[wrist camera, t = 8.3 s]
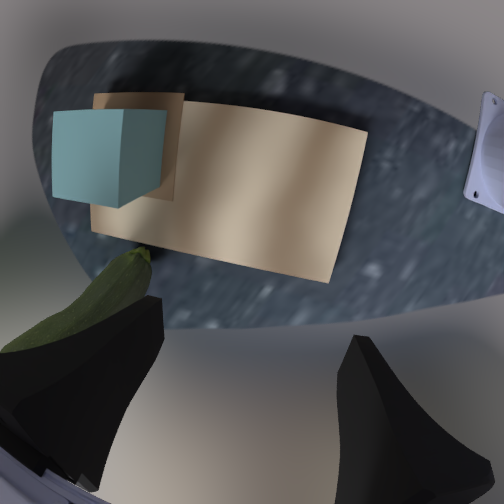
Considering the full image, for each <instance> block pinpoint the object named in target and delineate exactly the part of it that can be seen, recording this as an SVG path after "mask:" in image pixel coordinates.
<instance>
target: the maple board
mask: <svg viewBox="0 0 504 504" xmlns="http://www.w3.org/2000/svg"><path fill="white" fill-rule="evenodd" d="M184 95H185V93H167V92H121V93H99V94H94V102H93V109H148V110H167V117H166V125H165V134H164V143H163V154H162V165H161V178H160V187H159V188H157V189H155V190H153V191H151V192H149V193H147V194H145V195H143V196H141V197H139V198H137V199H135V200H133V201H132V202H130V203H128V204H126V205H124V206H122V207H121V208H119V209H117V208H112V207H106V206H101V205H96V204H90V206H91V228H92V231H93V232H97V233H101V234H106V235H110V236H114V237H118V238H123V239H127V240H131V241H136V242H140V243H144V244H149V245H153V246H158V247H162V248H166V249H171V250H175V251H180V252H184V253H189V254H193V255H198V256H202V257H207V258H211V259H216V260H221V261H225V262H230V263H234V264H239V265H244V266H248V267H253V268H258V269H262V270H267V271H272V272H276V273H281V274H286V275H291V276H296V277H300V278H305V279H310V280H315V281H320V282H325V283H329V280H330V277H331V274H332V271H333V267H334V264H335V261H336V257H337V254H338V251H339V247H340V244H341V240H342V237H343V233H344V230H345V226H346V222H347V219H348V215H349V211H350V207H351V204H352V200H353V196H354V192H355V188H356V184H357V179H358V175H359V171H360V167H361V162H362V158H363V153H364V149H365V144H366V139H367V134H368V132H365V131H361V130H358V129H354V128H350V127H346V126H342V125H338V124H334V123H330V122H325V121H321V120H316V119H312V118H307V117H302V116H297V115H292V114H286V113H281V112H275V111H269V110H262V109H256V108H249V107H241V106H233V105H224V104H214V103H203V102H190V101H184Z"/></svg>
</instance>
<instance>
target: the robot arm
mask: <svg viewBox="0 0 504 504" xmlns="http://www.w3.org/2000/svg"><path fill="white" fill-rule="evenodd" d="M492 99H494V101H495V103H494V104H493V102H492ZM475 191H476V196H475V197H474V192H475ZM464 196H465V197H466V198H468V199H469V200H472V201H474V202H477V203H479V204H482V205H484V206H487V207H489V208H491V209H494V210H496V211H498V212H500V213H503V214H504V100H503V99H501V98H499V97H498V96H496V95H494V94H493V93H491V92H488V91H487V92H484V93H483V95H482V101H481V109H480V116H479V123H478V128H477V134H476V139H475V145H474V149H473V154H472V159H471V163H470V167H469V171H468V175H467V179H466V183H465V187H464ZM163 341H164V325H163V309H162V299H161V298H157V297H153V296H149V295H147V296H145V297H143V298H141V299H140V300H138V301H136V302H134V303H133V304H131V305H129V306H127V307H126V308H124V309H122V310H120V311H119V312H117V313H115V314H113V315H112V316H110V317H108V318H106V319H104V320H102V321H100V322H98V323H96V324H94V325H92V326H91V327H89V328H87V329H85V330H82V331H80V332H78V333H76V334H73V335H71V336H68V337H66V338H63V339H60V340H58V341H54V342H51V343H48V344H44V345H41V346H38V347H34V348H30V349H25V350H20V351H14V352H7V353H0V504H111V503H108V502H106V501H104V500H102V499H100V498H98V497H96V496H94V495H92V494H90V493H88V492H96V491H98V490H99V486H100V482H101V478H102V474H103V471H104V467H105V464H106V461H107V457H108V455H109V452H110V449H111V446H112V443H113V441H114V438H115V435H116V433H117V430H118V428H119V425H120V423H121V421H122V418H123V416H124V413H125V411H126V409H127V407H128V405H129V404H130V402H131V400H132V398H133V397H134V395H135V393H136V392H137V390H138V388H139V387H140V385H141V383H142V381H143V380H144V378H145V377H146V375H147V373H148V372H149V370H150V368H151V367H152V365H153V363H154V362H155V360H156V358H157V355H158V353H159V351H160V348H161V346H162V344H163ZM337 408H338V421H339V435H340V464H339V476H338V484H337V492H336V498H335V504H469V503H471V502H473V501H474V500H475V499H477V498H479V497H480V496H482V495H483V494H485V493H486V492H487V491H489V490H490V489H491V488H492V486H493V485H494V483H495V479H494V475H493V471H492V467H491V464H490V461H489V460H487V459H485V458H484V457H482V456H480V455H478V454H477V453H475V452H474V451H472V450H470V449H469V448H467V447H466V446H464V445H463V444H462V443H460V442H459V441H458V440H456V439H455V438H454V437H452V436H451V435H450V434H449V433H447V432H446V431H445V430H444V429H443V428H442V427H441V426H439V425H438V424H437V423H436V422H435V421H434V420H433V419H432V418H431V417H430V416H429V415H428V414H427V413H426V412H425V411H424V410H423V409H422V408H421V406H420V405H418V403H417V402H416V401H415V400H414V399H413V397H412V396H411V395H410V394H409V392H408V391H407V390H406V389H405V387H404V386H403V385H402V383H401V382H400V381H399V380H398V378H397V377H396V375H395V374H394V372H393V371H392V370H391V369H390V367H389V365H388V364H387V362H386V361H385V360H384V358H383V357H382V355H381V353H380V352H379V350H378V349H377V348H376V346H375V345H374V343H373V342H372V340H371V339H370V338H369V337H367V336H359V335H354V336H353V338H352V340H351V343H350V345H349V348H348V350H347V352H346V355H345V357H344V359H343V362H342V364H341V366H340V368H339V370H338V374H337ZM68 481H69V482H68ZM70 482H71V483H70ZM72 483H73V484H74V485H73V484H72ZM75 485H77V486H79V487H81V488H82V489H84V490H86V491H88V492H86V491H84V490H82V489H81V488H79V487H77V486H75Z"/></svg>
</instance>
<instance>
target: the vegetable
mask: <svg viewBox="0 0 504 504" xmlns="http://www.w3.org/2000/svg"><path fill="white" fill-rule="evenodd" d="M150 259H151V258H150V252H149V250H148V249H147V250H145V247H139V248H137V249H133V250H131V251H129V252H126V253H124V254H122V255H120V256H118V257H116V258H115V259H114V260H112V261H111V262H110V263H109V265H108V266H107V267H106V268H105V269H104V270H103V271H102V272H101V273H100V274H99V275H98V276H97V277H96V278H95V279H94V281H93V282H92V283H91V284H90V285H89V286H88V287H87V289H86V290H85V291H84V292H83V294H82V295H81V296H80V297H79V298H78V299H76V300H75V301H74V302H73V303H72V304H71V305H70V306H69V307H67V308H66V309H64V310H63V311H61V312H59V313H56V314H54V315H52V316H50V317H48V318H46V319H45V320H43V321H41V322H40V323H38V324H37V325H35V326H34V327H33V328H31V329H29V330H28V331H26V332H25V333H23V334H22V335H20V336H19V337H17V338H16V339H14V340H13V341H12V342H10V343H9V344H7V345H6V346H4V347H3V349H2V350H1V351H0V353H7V352H14V351H20V350H25V349H30V348H34V347H38V346H41V345H44V344H48V343H51V342H54V341H58V340H60V339H63V338H66V337H68V336H71V335H73V334H76V333H78V332H80V331H82V330H85V329H87V328H89V327H91V326H92V325H94V324H96V323H98V322H100V321H102V320H104V319H106V318H108V317H110V316H112V315H113V314H115V313H117V312H119V311H120V310H122V309H124V308H126V307H127V306H129V305H131V304H133V303H134V302H136V301H138V300H140V299H141V298H143V297H144V296H145V294H146V291H147V289H148V287H149V283H150V279H151V275H152V269H151V265H150Z"/></svg>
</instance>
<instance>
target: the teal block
mask: <svg viewBox="0 0 504 504" xmlns="http://www.w3.org/2000/svg"><path fill="white" fill-rule="evenodd" d="M166 117H167V110H148V109H92V110H72V111H58V112H54V117H53V134H52V190H53V197H56V198H62V199H68V200H73V201H79V202H84V203H90V204H96V205H101V206H106V207H112V208H117V209H119V208H121V207H122V206H124V205H126V204H128V203H130V202H132V201H133V200H135V199H137V198H139V197H141V196H143V195H145V194H147V193H149V192H151V191H153V190H155V189H157V188H159V187H160V178H161V165H162V154H163V143H164V134H165V125H166Z"/></svg>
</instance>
